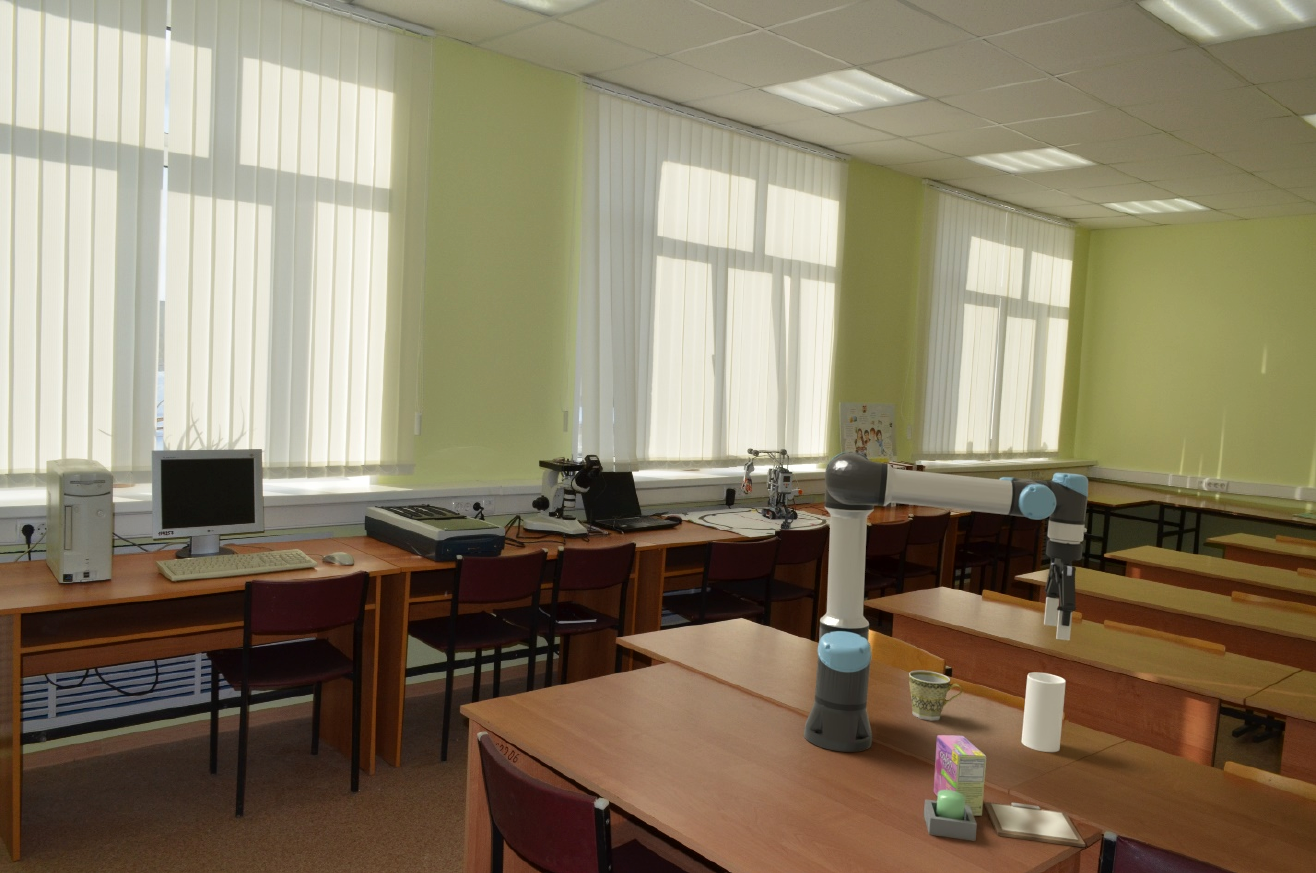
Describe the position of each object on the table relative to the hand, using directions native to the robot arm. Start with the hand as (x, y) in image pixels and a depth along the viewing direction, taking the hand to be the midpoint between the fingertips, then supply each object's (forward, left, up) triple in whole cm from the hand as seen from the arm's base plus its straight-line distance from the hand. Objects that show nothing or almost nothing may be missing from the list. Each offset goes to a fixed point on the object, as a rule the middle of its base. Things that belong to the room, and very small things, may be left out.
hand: (1056, 632), depth 212 cm
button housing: (-29, -50, -27) cm, 63 cm away
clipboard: (-13, -44, -27) cm, 53 cm away
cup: (-1, +1, -27) cm, 27 cm away
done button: (-29, -50, -26) cm, 63 cm away
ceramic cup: (-24, +12, -27) cm, 38 cm away
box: (-26, -39, -27) cm, 54 cm away
